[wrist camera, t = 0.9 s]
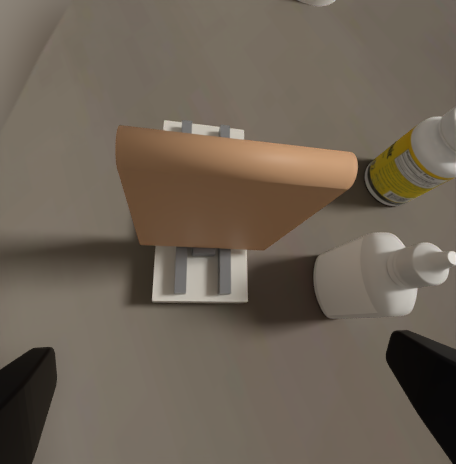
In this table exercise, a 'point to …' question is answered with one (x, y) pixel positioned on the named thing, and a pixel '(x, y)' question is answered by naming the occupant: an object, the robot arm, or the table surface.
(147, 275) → the table surface
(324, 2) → the cylinder with rectangular tab
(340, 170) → the fader paddle
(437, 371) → the robot arm
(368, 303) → the eye dropper bottle
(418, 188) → the supplement bottle
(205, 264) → the white base with rails
